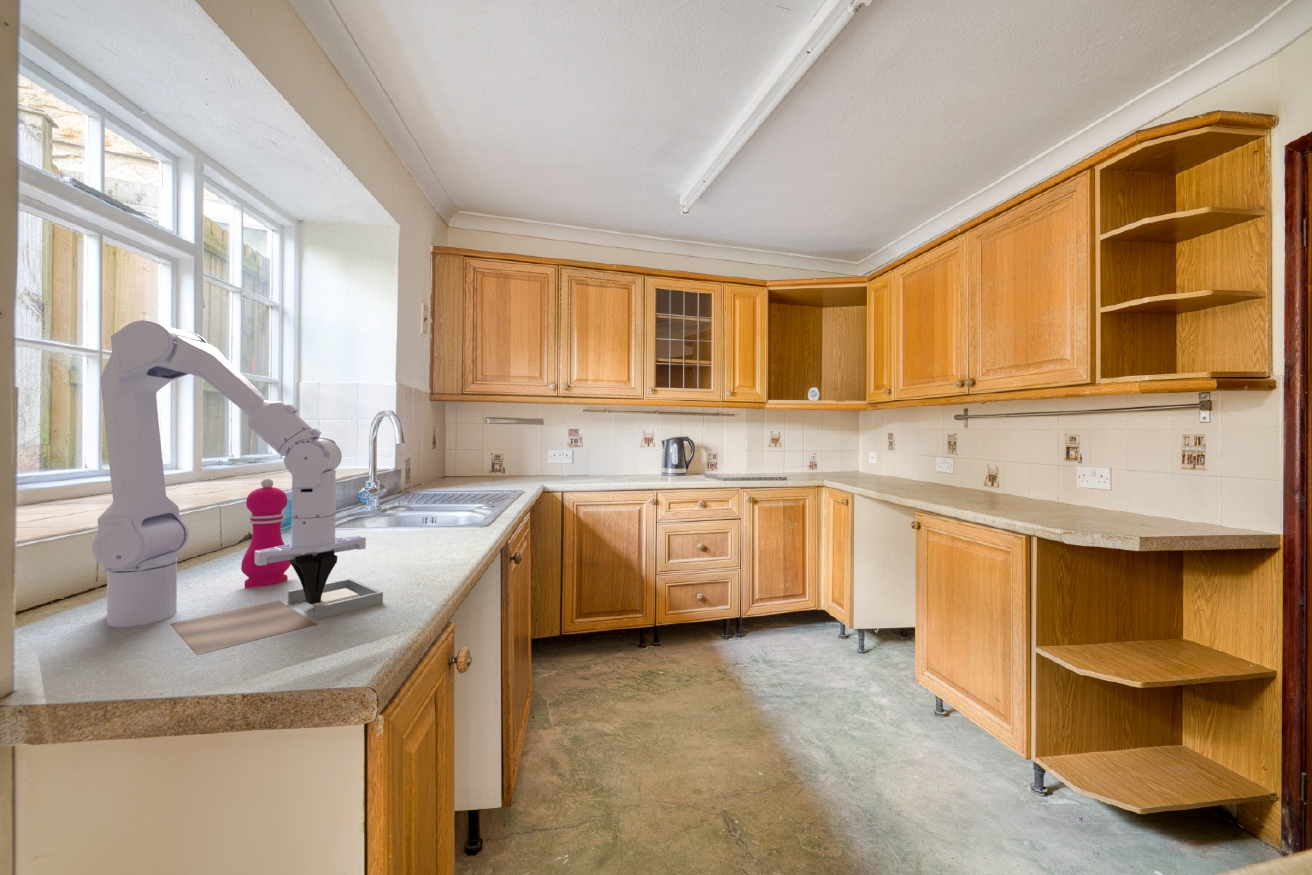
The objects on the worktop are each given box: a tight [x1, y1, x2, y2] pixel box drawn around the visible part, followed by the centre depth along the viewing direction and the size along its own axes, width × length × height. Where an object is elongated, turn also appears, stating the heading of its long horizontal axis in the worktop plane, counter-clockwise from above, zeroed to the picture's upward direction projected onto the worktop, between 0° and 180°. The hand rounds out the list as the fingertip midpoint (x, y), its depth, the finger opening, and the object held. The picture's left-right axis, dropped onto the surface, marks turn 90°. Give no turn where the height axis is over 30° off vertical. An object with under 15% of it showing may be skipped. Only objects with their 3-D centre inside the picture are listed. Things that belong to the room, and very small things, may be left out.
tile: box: [313, 588, 360, 607], centre depth 82 cm, size 5×5×2 cm
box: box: [283, 577, 384, 622], centre depth 82 cm, size 12×10×3 cm
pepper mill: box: [240, 478, 292, 589], centre depth 93 cm, size 7×7×20 cm
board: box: [170, 600, 318, 656], centre depth 73 cm, size 16×13×1 cm
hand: (313, 602), depth 79 cm, fingers closed
